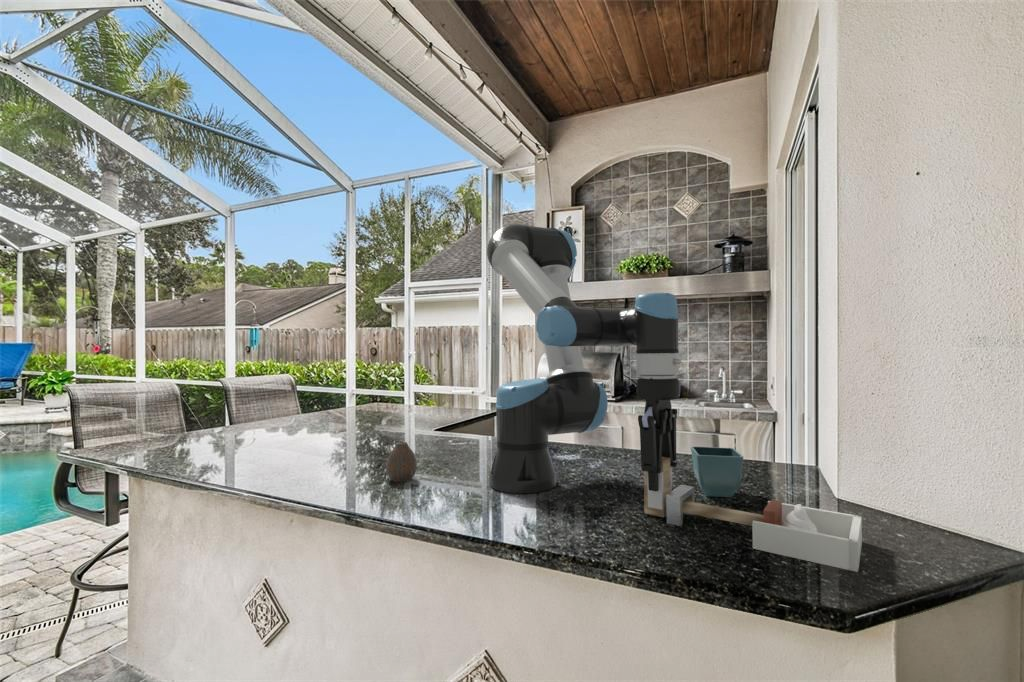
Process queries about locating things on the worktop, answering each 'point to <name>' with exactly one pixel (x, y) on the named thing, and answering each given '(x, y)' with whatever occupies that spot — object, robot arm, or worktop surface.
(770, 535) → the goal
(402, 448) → the brown egg shape
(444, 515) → the worktop surface
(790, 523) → the whipped cream swirl
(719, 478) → the flower pot
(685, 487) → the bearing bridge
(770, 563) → the worktop surface
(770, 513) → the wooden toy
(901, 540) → the worktop surface
